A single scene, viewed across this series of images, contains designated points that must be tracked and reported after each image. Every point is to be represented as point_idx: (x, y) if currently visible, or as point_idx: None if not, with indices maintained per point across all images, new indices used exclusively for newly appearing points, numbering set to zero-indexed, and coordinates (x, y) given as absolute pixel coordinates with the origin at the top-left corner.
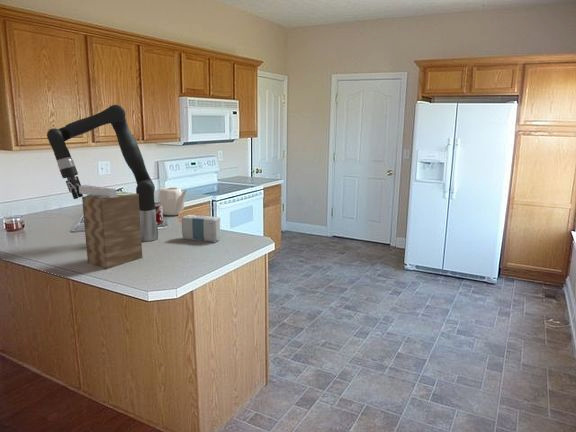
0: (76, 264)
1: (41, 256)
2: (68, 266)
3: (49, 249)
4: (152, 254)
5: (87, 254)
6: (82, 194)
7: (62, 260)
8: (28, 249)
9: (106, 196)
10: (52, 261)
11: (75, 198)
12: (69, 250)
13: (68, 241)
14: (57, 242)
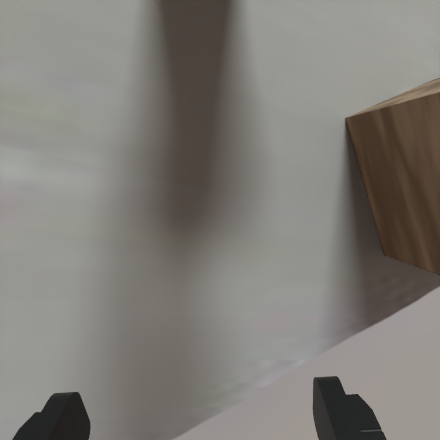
0: (372, 286)
1: (219, 380)
2: (376, 308)
3: (132, 357)
4: (421, 29)
5: (412, 263)
6: (347, 399)
7: (307, 321)
8: None
9: None
10: (299, 349)
11: (85, 423)
12: (192, 290)
13: (22, 280)
14: (16, 325)
